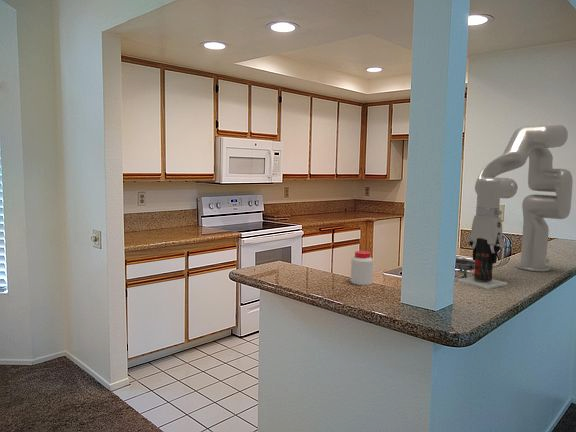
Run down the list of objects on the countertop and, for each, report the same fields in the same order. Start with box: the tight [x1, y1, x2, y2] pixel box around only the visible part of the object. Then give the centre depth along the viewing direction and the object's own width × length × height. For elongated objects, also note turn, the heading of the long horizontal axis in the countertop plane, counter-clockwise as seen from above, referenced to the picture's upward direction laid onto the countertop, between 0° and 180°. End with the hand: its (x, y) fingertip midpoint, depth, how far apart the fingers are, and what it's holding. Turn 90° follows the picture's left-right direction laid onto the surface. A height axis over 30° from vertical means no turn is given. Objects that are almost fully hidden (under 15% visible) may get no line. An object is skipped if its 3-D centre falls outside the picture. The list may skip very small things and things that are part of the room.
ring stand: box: [454, 258, 475, 279], centre depth 174 cm, size 11×11×5 cm
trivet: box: [457, 276, 508, 290], centre depth 161 cm, size 12×12×1 cm
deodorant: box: [473, 238, 494, 281], centre depth 161 cm, size 6×6×15 cm
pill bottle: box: [350, 250, 374, 286], centre depth 159 cm, size 8×8×11 cm
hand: (484, 261), depth 161 cm, fingers closed on deodorant, 6 cm apart
